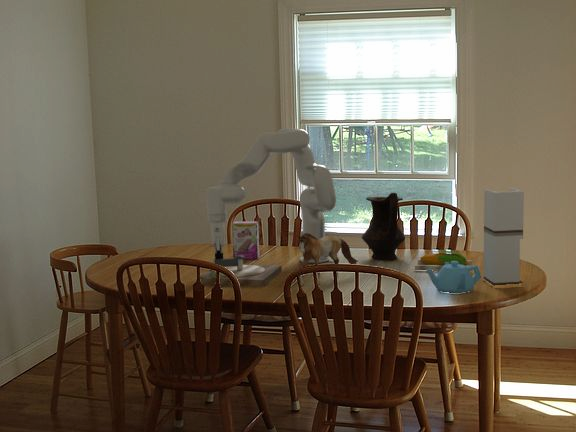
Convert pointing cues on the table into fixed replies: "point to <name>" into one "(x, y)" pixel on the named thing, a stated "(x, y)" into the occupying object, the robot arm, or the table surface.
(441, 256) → the corn
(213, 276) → the tuner base
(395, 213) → the jug
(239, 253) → the candy bar box
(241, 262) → the lever with ball knob
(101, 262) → the table surface
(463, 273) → the teapot
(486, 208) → the white rectangular tower
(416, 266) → the corn rest
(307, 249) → the horse figurine
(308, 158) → the robot arm
